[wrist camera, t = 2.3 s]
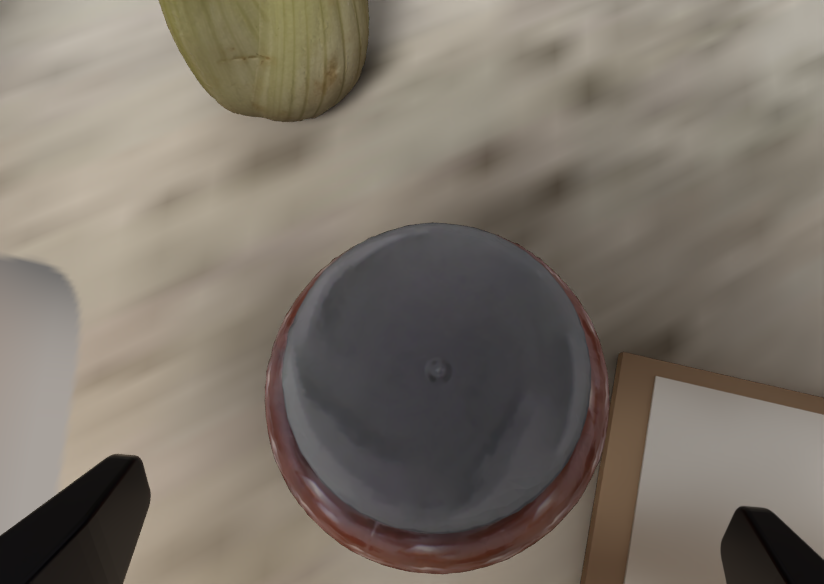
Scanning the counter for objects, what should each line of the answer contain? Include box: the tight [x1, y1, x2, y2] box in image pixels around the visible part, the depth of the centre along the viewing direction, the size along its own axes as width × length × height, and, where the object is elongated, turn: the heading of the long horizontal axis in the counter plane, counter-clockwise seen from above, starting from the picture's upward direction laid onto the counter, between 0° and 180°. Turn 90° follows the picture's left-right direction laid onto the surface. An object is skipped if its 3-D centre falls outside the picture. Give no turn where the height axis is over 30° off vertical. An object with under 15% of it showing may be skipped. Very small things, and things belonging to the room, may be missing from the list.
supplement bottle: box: [265, 223, 610, 574], centre depth 13 cm, size 6×6×11 cm
